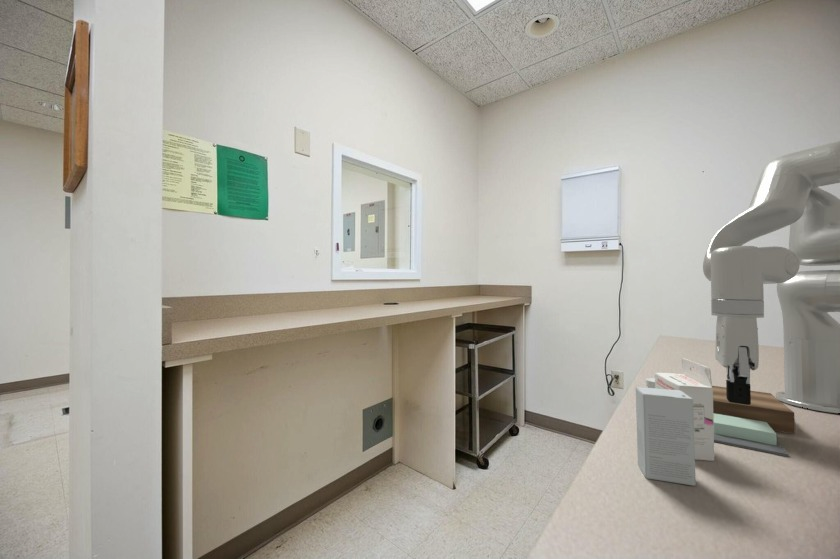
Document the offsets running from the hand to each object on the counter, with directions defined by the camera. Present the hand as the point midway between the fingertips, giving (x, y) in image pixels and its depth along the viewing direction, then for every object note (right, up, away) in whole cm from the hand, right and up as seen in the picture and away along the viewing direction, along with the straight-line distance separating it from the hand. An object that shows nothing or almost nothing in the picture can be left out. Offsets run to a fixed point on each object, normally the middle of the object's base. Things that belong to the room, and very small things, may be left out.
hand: (738, 402), depth 65 cm
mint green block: (-3, -2, -4) cm, 5 cm away
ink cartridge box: (-18, -5, -9) cm, 20 cm away
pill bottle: (-14, -5, +2) cm, 15 cm away
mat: (-5, -5, -3) cm, 7 cm away
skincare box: (-27, -5, -17) cm, 32 cm away
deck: (+5, -5, +7) cm, 10 cm away
